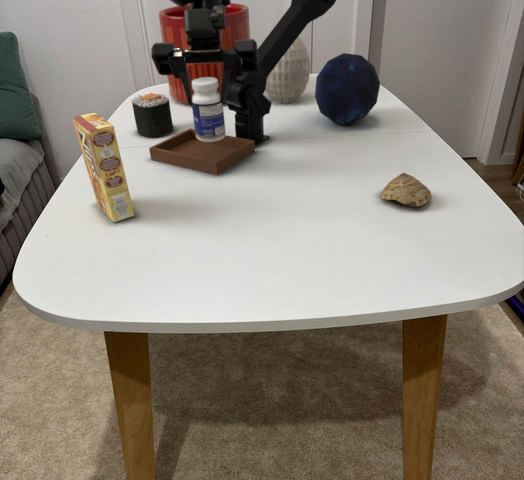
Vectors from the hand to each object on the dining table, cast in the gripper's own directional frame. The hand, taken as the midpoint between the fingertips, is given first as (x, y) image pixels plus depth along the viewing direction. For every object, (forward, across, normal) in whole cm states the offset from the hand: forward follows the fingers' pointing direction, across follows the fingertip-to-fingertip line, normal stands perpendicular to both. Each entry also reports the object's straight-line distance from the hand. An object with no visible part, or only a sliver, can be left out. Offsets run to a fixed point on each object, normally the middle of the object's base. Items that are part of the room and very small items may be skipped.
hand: (205, 102), depth 91 cm
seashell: (+19, +35, 0) cm, 40 cm away
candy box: (+20, -16, -1) cm, 26 cm away
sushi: (-9, -17, +28) cm, 34 cm away
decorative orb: (-11, +28, +31) cm, 43 cm away
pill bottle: (+4, 0, +6) cm, 7 cm away
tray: (+2, -3, +17) cm, 17 cm away
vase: (-25, +14, +44) cm, 53 cm away
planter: (-29, -6, +49) cm, 57 cm away
